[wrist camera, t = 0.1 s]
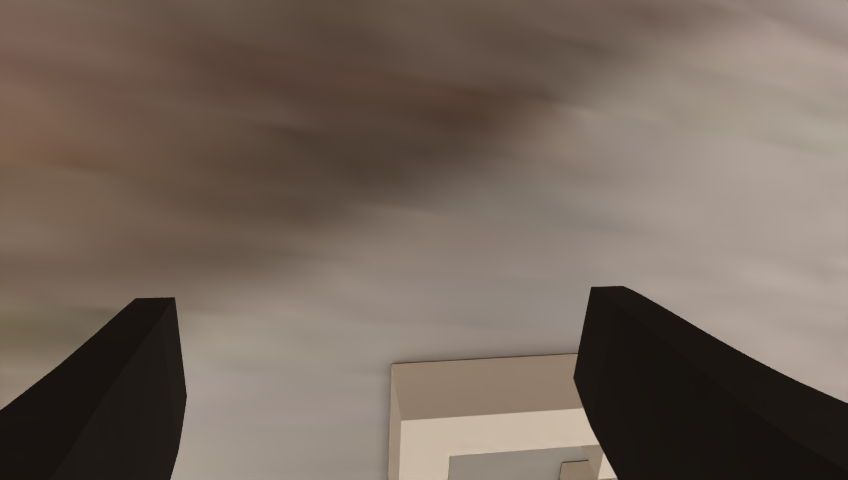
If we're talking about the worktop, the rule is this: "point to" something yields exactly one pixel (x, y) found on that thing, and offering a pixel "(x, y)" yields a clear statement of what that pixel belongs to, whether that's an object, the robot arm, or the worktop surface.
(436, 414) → the dock
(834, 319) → the worktop surface
